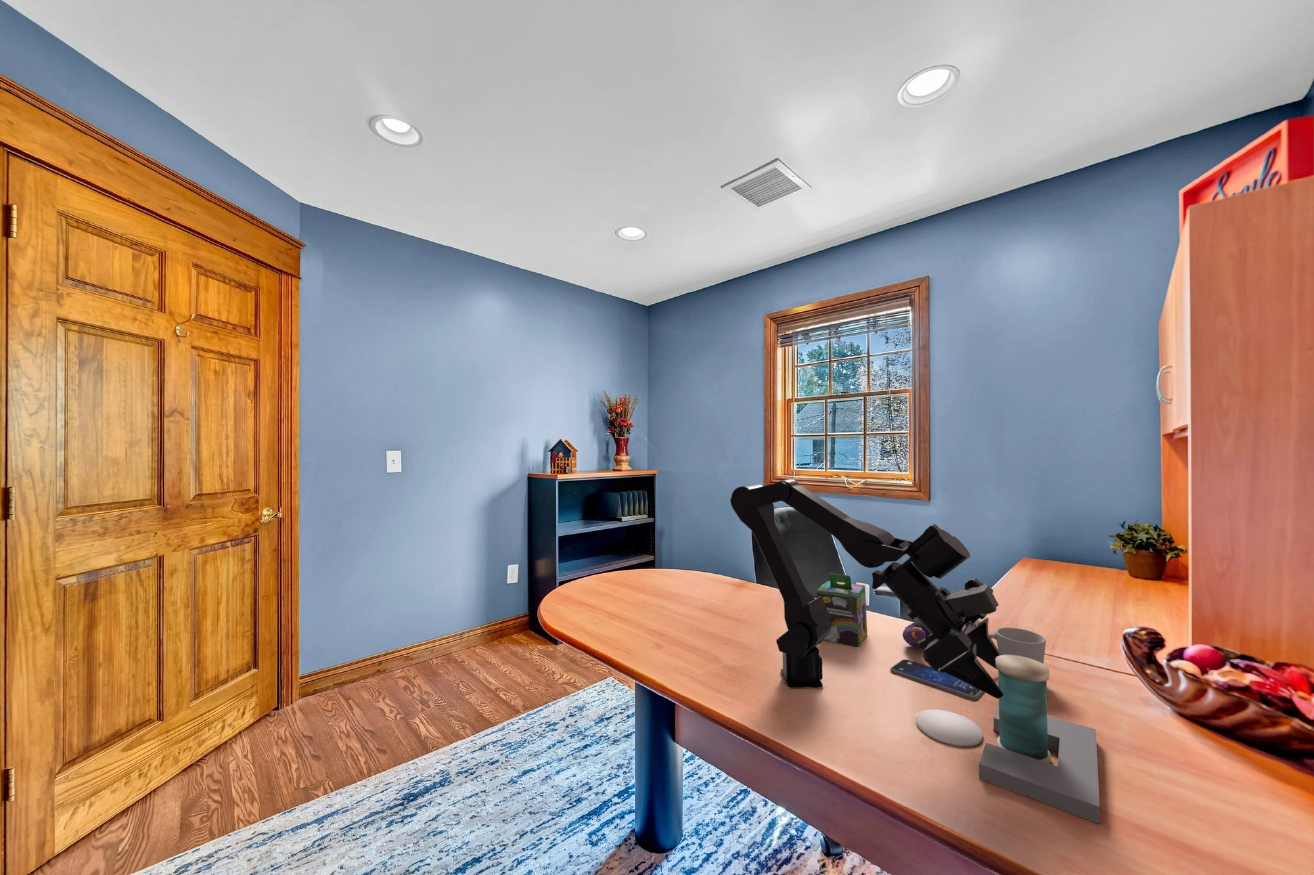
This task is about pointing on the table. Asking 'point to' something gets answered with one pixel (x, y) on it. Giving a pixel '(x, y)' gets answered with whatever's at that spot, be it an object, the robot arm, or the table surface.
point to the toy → (917, 635)
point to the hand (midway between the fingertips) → (1004, 684)
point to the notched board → (1050, 769)
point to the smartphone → (935, 679)
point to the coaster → (949, 727)
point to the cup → (1020, 643)
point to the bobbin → (1023, 706)
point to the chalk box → (845, 610)
